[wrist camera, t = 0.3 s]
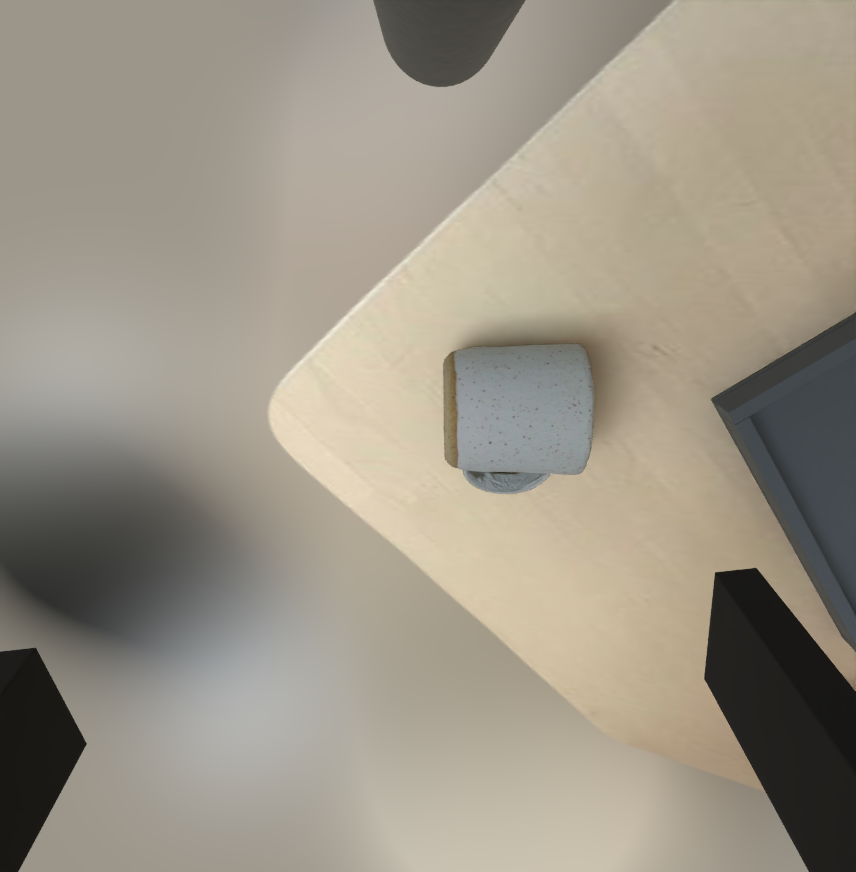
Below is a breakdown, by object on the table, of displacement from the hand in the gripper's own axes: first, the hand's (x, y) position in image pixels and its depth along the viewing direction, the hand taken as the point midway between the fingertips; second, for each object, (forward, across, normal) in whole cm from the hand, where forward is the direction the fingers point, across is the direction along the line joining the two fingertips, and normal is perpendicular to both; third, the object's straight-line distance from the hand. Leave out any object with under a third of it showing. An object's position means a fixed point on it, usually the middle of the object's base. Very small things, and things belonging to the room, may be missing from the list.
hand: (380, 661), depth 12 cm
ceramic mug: (+28, +6, -7) cm, 29 cm away
